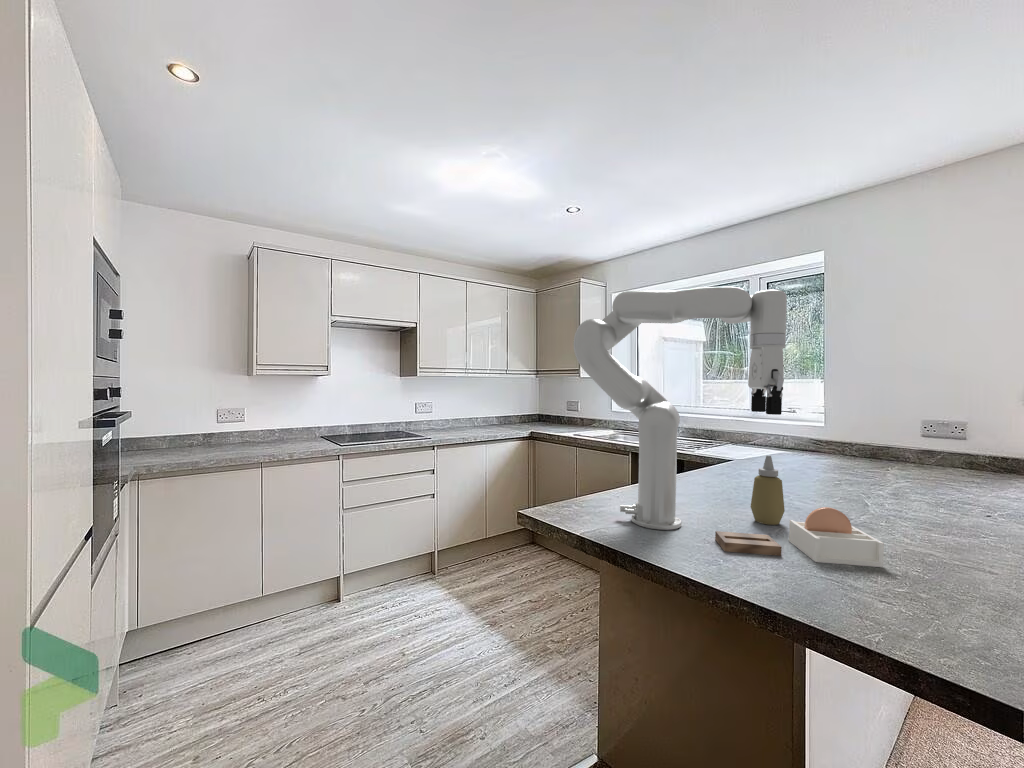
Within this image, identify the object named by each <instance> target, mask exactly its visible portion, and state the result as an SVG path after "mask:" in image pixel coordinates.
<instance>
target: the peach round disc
mask: <svg viewBox="0 0 1024 768" xmlns="http://www.w3.org/2000/svg"><path fill="white" fill-rule="evenodd" d="M804 522H805V529H807V530H808V531H820V532H834V533H848V534H852V526H853V525H852V524H851V520H850V519H849V518H848V516H847V515H846V514H845V513H843V512H842V511H840V510H838V509H837V508H833V507H830V506H829V507H827V506H824V507H819V508H816V509H814V510H812V511H811V512H810V513H809V514H808V515H807V517H806V519H805V521H804ZM851 525H852V526H851Z"/></svg>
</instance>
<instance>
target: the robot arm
mask: <svg viewBox="0 0 1024 768" xmlns="http://www.w3.org/2000/svg"><path fill="white" fill-rule="evenodd" d="M787 296H788V295H787V294H786V292H785V291H784V290H780V289H766V290H760V291H756V292H754V293H753V294H750V293H749V292H748V291H747V290H745V289H744V288H742V287H741V288H740V287H736V286H708V287H707V286H706V287H703V286H702V287H693V288H687V289H686V288H685V289H676V290H674V289H673V290H629V291H627V290H626V291H622V292H621V293H618V294H617V295H616V296H615V297H614V299H613V301H612V306H611V308H612V309H611V310H612V311H611V312H610V313H608V314H607V316H605V317H603V318H602V320H601V319H598V318H590V319H586V320H584V321H583V322H581V323H580V324H579V326H578V327H577V329H576V331H575V333H574V337H573V352H574V355H575V358H576V360H577V362H578V364H579V365H580V367H581V369H582V370H583V371H584V373H586V374H587V375H588V377H590V378H591V380H592V381H594V382H595V383H596V384H597V386H598V387H599V388H600V389H601V390H602V391H603V392H604V393H605V394H606V395H607V396H608V397H609V398H611V400H612V401H613V402H614V404H616V405H617V406H618V407H619V408H621V409H623V410H626V411H627V410H628V411H629V412H630V413H632V414H633V415H634V417H636V418H637V419H638V431H637V432H638V491H637V492H638V494H637V496H638V497H637V501H635V504H631V505H627V504H620V505H619V512H620V513H625V514H626V515H631V521H632V523H634V524H635V525H637V526H639V527H642V528H646V529H652V530H659V531H663V530H664V531H665V530H666V531H669V530H677V529H678V528H679V529H680V528H681V527H682V520H681V519H680V518H679V517H677V516H676V509H677V508H676V507H677V505H676V504H677V503H676V499H677V472H678V471H677V467H678V466H677V460H678V458H677V457H678V455H677V454H678V428H679V425H680V424H681V423H680V421H681V419H680V414H679V411H678V409H677V408H676V407H675V406H674V405H673V404H672V403H671V402H670V401H669V400H668V399H666V398H665V397H664V396H663V395H662V394H661V392H659V391H658V390H657V389H656V388H655V387H654V386H652V384H650V383H649V382H648V380H646V379H644V378H642V377H641V376H638V375H635V374H633V373H632V372H631V371H629V370H628V369H627V368H626V367H625V366H624V365H623V364H622V363H620V362H619V360H618V359H617V358H616V357H614V356H613V355H612V354H611V352H609V350H611V349H613V348H614V347H615V346H617V345H618V343H619V344H620V342H622V341H623V340H624V339H625V338H626V337H627V336H628V335H630V334H631V333H632V332H634V331H635V330H636V329H637V328H638V327H639V326H640V325H641V324H677V323H682V322H684V321H688V320H694V319H695V320H696V319H720V320H721V321H722V322H724V323H726V324H730V325H731V324H732V325H734V324H741V323H749V322H750V333H749V334H750V337H749V339H750V341H749V349H751V352H750V358H749V359H750V360H749V366H748V367H749V368H748V380H747V386H748V387H749V388H750V389H751V392H750V393H751V400H750V401H751V403H750V404H751V405H750V409H751V412H754V413H765V414H766V415H773V416H775V415H776V416H777V415H779V416H780V415H782V411H783V410H782V409H783V407H782V404H783V391H784V381H785V379H784V373H785V371H784V369H785V368H784V367H785V366H784V365H785V364H784V351H783V350H784V349H786V340H787V339H786V338H787V337H786V336H787V334H786V333H787V332H786V331H787V306H788V305H787V304H788V302H787V301H788V299H787ZM766 393H767V396H766V395H765V394H766Z"/></svg>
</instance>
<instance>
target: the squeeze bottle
mask: <svg viewBox="0 0 1024 768" xmlns="http://www.w3.org/2000/svg"><path fill="white" fill-rule="evenodd" d="M783 486H784V485H783V480H782V479H781V478H780V477H779V470H778V469H776V468H774V463H773V458H772V455H766V456H765V459H764V462H763V466H762V467H760V468H758V475H756V476H755V477H754V479H753V487H752V494H751V500H750V501H751V502H750V510H751V512H752V516H753V519H754V521H755V522H757V523H760V524H763V525H767V526H768V525H770V526H772V525H773V526H776V525H780V523H781V521H782V519H783V517H784V516H783V515H784V514H785V502H784V500H785V499H784V488H783Z"/></svg>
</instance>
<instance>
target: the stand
mask: <svg viewBox="0 0 1024 768" xmlns="http://www.w3.org/2000/svg"><path fill="white" fill-rule="evenodd" d="M714 531H715V533H714V539H715V541H716V543H717V544H718V545H719V546H720V547H721V549H722V550H723V551H724V552H729V553H740V554H753V555H754V554H755V555H768V556H779V557H782V549H783V548H782V545H781V544H779V543H778V542H777V541H776V540H774V538H772V537H771V536H770V535H769V534H760V533H747V532H746V533H745V532H744V533H743V532H732V531H721V530H720V531H717V530H714Z"/></svg>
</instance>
